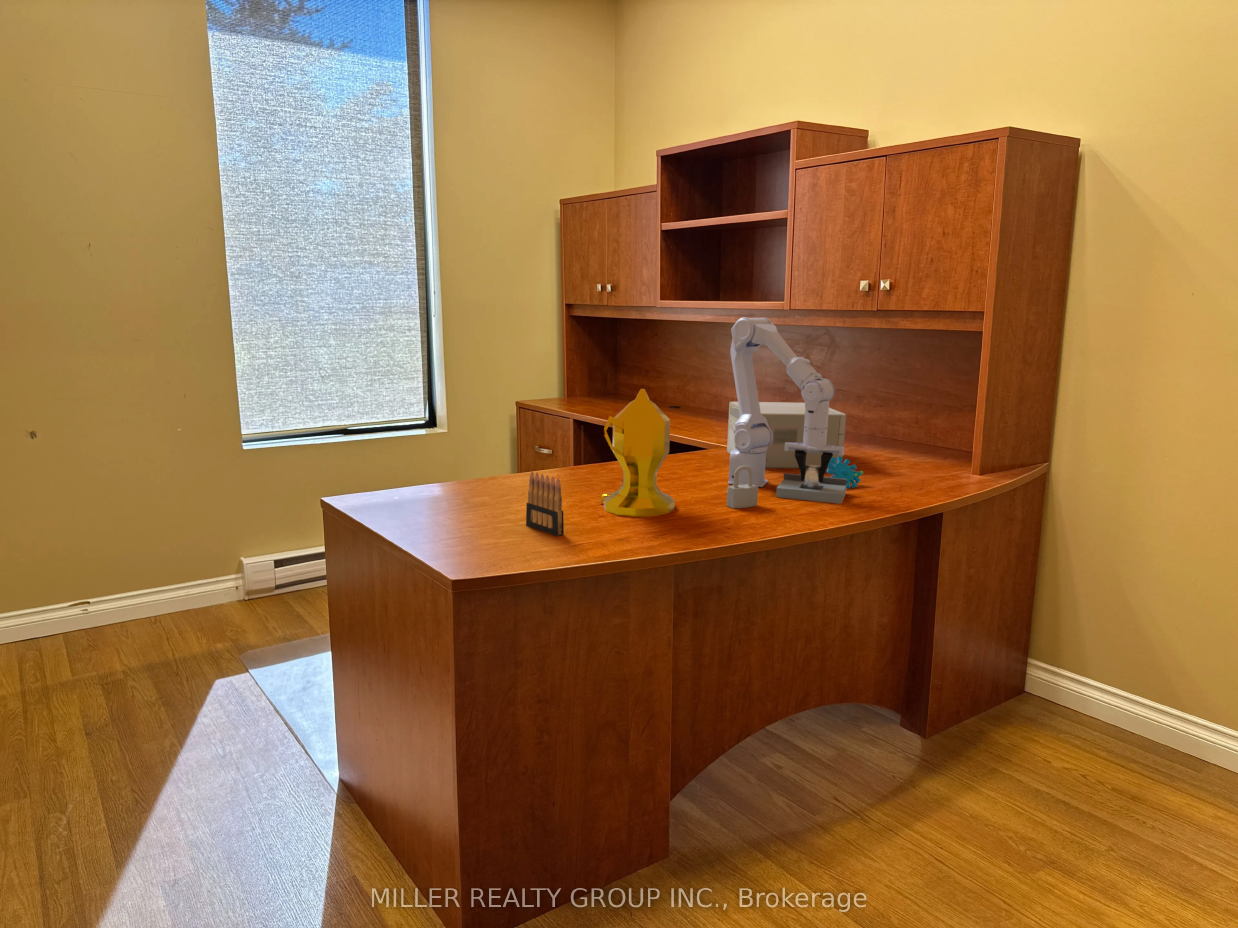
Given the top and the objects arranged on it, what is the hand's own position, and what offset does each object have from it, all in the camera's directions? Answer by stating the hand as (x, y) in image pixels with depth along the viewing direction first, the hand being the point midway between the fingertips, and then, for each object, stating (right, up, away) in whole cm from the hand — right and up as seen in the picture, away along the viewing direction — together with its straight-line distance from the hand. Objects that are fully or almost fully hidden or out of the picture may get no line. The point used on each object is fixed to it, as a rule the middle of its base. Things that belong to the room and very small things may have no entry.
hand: (811, 480), depth 216 cm
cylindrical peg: (0, -3, 0) cm, 3 cm away
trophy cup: (-45, -6, -15) cm, 48 cm away
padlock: (-19, -6, -11) cm, 23 cm away
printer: (+2, +5, +49) cm, 50 cm away
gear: (+12, -2, +14) cm, 18 cm away
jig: (0, -4, +2) cm, 4 cm away
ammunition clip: (-65, -10, -36) cm, 75 cm away
